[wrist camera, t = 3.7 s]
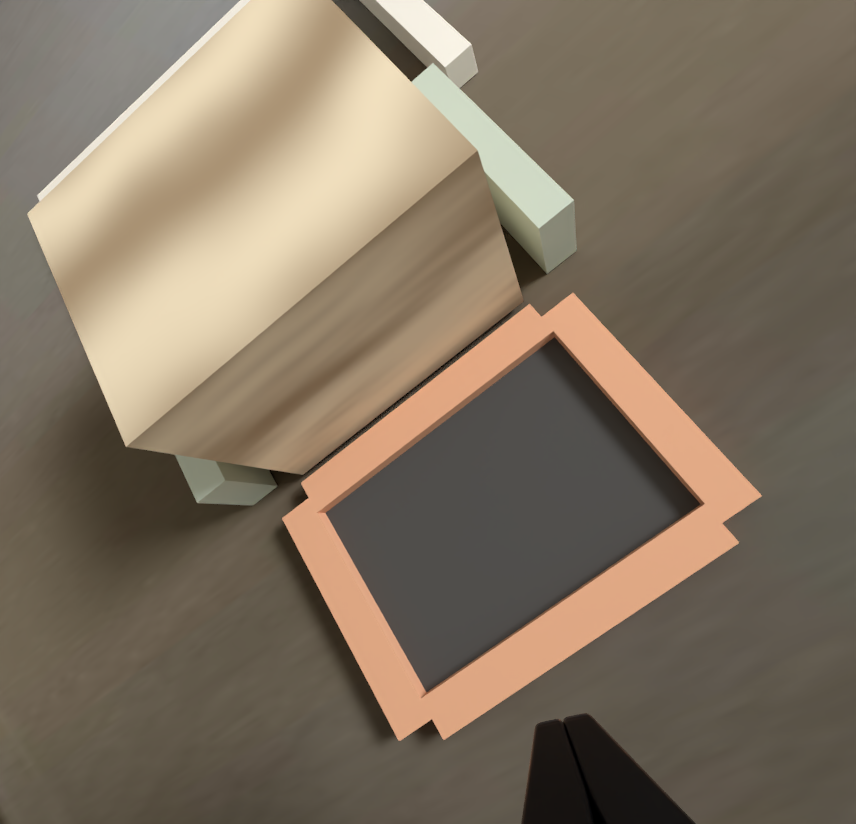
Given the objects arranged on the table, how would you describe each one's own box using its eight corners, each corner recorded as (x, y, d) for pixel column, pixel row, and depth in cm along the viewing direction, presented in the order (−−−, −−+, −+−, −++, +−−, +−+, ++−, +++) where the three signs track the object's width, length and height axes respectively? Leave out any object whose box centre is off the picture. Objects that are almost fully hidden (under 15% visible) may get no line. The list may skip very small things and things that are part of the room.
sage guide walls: (576, 250, 21) (574, 200, 17) (253, 505, 23) (197, 503, 20) (454, 125, 24) (432, 62, 21) (179, 360, 26) (120, 338, 23)
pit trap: (769, 515, 17) (780, 515, 16) (419, 750, 19) (410, 762, 18) (562, 290, 21) (560, 279, 20) (287, 504, 22) (274, 503, 22)
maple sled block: (523, 301, 21) (477, 150, 12) (302, 474, 22) (125, 446, 14) (396, 155, 24) (292, -41, 16) (212, 314, 25) (27, 213, 17)
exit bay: (478, 71, 24) (471, 44, 23) (135, 369, 27) (110, 360, 25) (342, -56, 29) (329, -85, 27) (61, 209, 31) (37, 195, 30)
